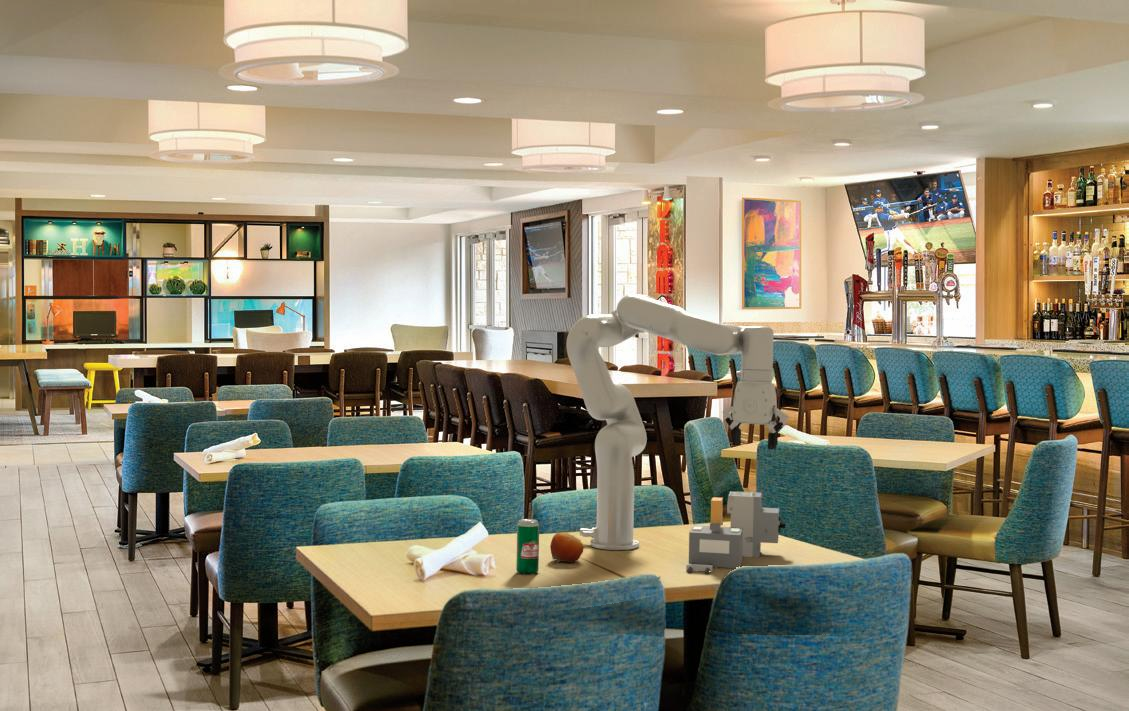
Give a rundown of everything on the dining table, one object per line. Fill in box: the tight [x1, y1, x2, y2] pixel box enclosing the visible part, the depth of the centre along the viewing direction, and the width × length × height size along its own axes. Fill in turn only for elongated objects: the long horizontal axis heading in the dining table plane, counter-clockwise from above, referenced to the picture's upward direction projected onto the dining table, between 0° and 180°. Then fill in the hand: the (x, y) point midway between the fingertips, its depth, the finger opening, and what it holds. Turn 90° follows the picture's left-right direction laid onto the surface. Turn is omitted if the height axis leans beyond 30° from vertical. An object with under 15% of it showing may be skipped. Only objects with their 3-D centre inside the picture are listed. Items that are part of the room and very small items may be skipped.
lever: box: [710, 497, 724, 527], centre depth 281 cm, size 2×6×7 cm, turn 168°
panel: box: [688, 517, 743, 569], centre depth 282 cm, size 12×10×10 cm
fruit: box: [550, 531, 585, 565], centre depth 281 cm, size 8×8×8 cm
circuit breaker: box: [726, 491, 787, 558], centre depth 293 cm, size 8×14×15 cm, turn 78°
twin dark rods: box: [685, 562, 714, 574], centre depth 274 cm, size 6×8×1 cm
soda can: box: [515, 518, 540, 576], centre depth 268 cm, size 5×5×12 cm
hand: (753, 447), depth 285 cm, fingers open, 9 cm apart
